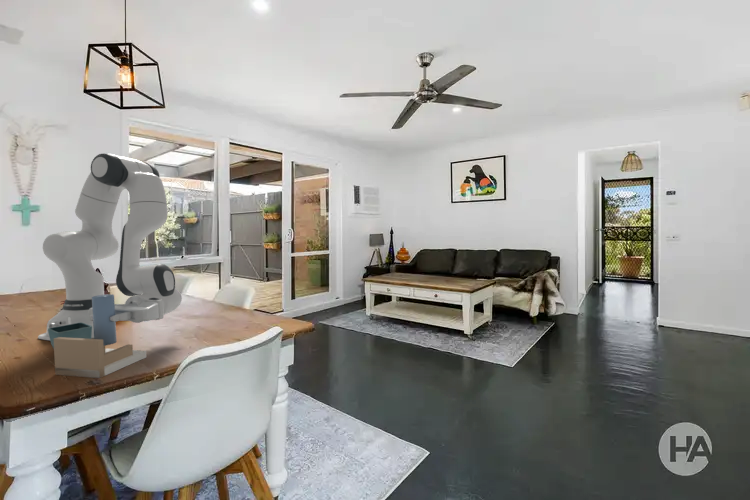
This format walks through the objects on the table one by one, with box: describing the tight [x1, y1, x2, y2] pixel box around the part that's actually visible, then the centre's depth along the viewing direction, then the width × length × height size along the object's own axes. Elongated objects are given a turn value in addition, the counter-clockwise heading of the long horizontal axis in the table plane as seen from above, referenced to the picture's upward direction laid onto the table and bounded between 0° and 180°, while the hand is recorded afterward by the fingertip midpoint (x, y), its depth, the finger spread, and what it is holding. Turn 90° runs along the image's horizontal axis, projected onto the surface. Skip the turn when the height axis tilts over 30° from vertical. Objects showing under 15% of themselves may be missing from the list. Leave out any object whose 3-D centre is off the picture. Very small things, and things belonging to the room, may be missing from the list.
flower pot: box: [48, 322, 92, 349], centre depth 114 cm, size 9×9×9 cm
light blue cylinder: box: [92, 293, 118, 347], centre depth 105 cm, size 5×5×14 cm
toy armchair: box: [53, 337, 147, 379], centre depth 105 cm, size 14×16×10 cm
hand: (101, 318), depth 104 cm, fingers closed on light blue cylinder, 5 cm apart
